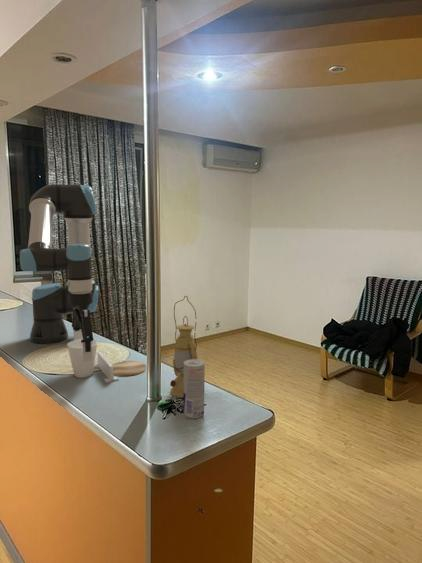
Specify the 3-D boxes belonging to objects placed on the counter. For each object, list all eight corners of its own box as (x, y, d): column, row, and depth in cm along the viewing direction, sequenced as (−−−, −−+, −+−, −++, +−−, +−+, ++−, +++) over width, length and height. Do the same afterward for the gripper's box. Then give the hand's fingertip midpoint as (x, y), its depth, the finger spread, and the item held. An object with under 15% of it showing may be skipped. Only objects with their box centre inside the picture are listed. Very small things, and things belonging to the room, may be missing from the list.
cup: (90, 381, 131) (88, 349, 130) (62, 378, 133) (60, 346, 132) (104, 370, 141) (103, 339, 139) (77, 367, 143) (76, 337, 141)
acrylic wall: (93, 366, 145) (93, 352, 144) (104, 364, 147) (104, 350, 146) (106, 382, 131) (105, 367, 130) (118, 380, 133) (117, 365, 132)
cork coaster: (103, 366, 145) (103, 364, 145) (138, 360, 151) (138, 358, 151) (114, 379, 134) (114, 377, 134) (151, 371, 140) (151, 370, 140)
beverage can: (208, 414, 111) (209, 362, 109) (194, 422, 107) (194, 367, 105) (193, 407, 115) (193, 356, 112) (179, 414, 111) (179, 362, 108)
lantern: (160, 389, 126) (159, 294, 121) (185, 381, 133) (186, 290, 128) (182, 403, 117) (183, 301, 112) (209, 394, 123) (210, 297, 118)
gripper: (61, 287, 141) (64, 346, 145) (76, 299, 120) (79, 368, 123) (83, 285, 145) (85, 343, 148) (102, 297, 124) (104, 364, 127)
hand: (82, 354), depth 136 cm, fingers open, 13 cm apart
